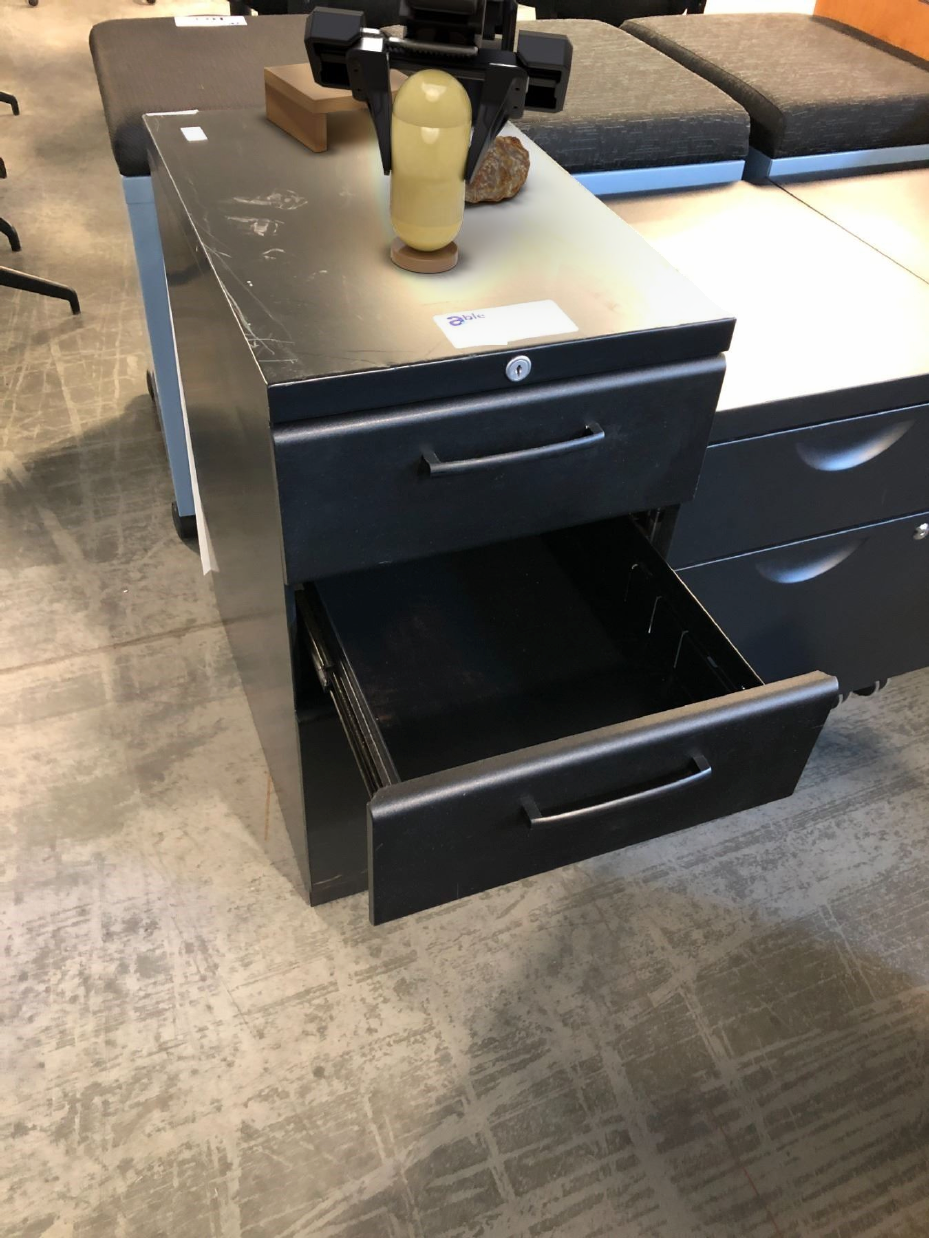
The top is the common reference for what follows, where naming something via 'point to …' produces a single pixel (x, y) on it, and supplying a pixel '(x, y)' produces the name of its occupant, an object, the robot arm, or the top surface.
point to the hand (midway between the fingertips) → (426, 177)
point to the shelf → (308, 102)
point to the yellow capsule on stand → (428, 170)
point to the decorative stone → (500, 171)
